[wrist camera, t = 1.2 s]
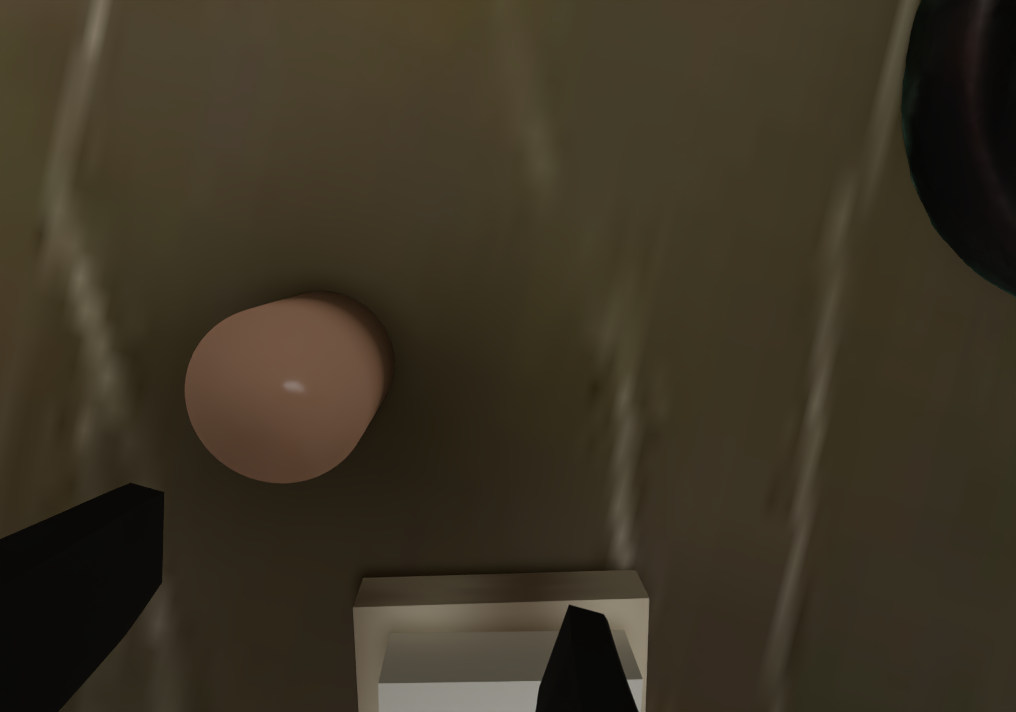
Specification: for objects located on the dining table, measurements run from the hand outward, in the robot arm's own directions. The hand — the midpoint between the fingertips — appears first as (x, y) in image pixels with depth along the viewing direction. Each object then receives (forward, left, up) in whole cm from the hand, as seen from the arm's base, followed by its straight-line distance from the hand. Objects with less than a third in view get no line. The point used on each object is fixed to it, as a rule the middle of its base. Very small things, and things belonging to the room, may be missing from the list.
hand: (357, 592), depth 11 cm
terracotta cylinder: (-3, +2, -11) cm, 12 cm away
